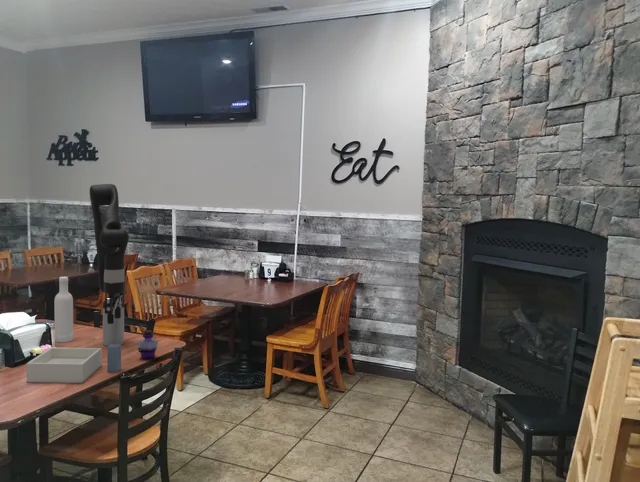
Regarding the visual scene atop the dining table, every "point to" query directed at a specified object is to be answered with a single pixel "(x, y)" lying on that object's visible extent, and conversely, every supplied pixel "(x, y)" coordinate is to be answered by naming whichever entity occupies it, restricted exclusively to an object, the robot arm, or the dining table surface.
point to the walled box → (64, 365)
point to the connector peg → (114, 358)
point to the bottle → (63, 312)
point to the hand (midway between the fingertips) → (114, 320)
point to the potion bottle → (147, 346)
